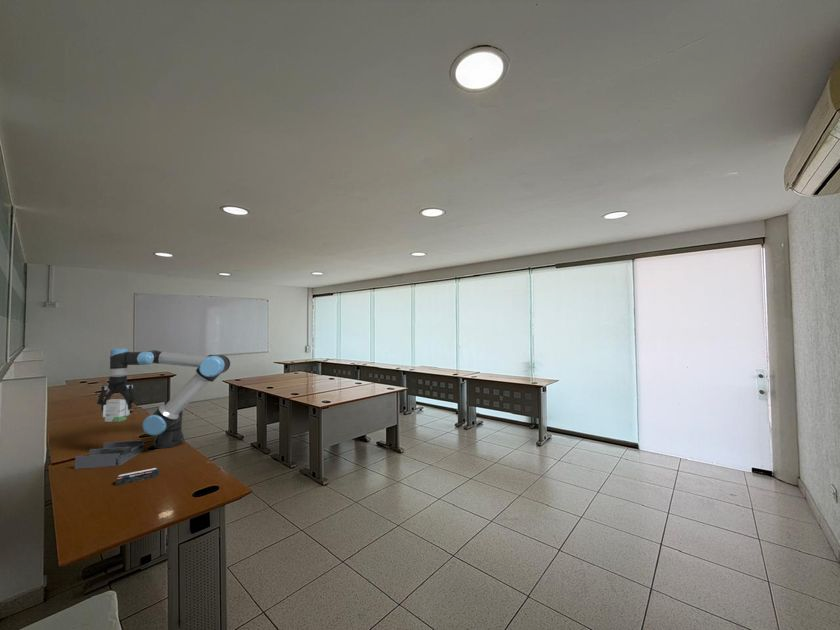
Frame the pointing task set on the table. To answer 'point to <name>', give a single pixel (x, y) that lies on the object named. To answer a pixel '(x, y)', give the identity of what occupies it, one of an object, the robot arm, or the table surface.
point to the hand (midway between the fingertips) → (116, 415)
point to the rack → (110, 454)
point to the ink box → (115, 410)
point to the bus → (136, 476)
